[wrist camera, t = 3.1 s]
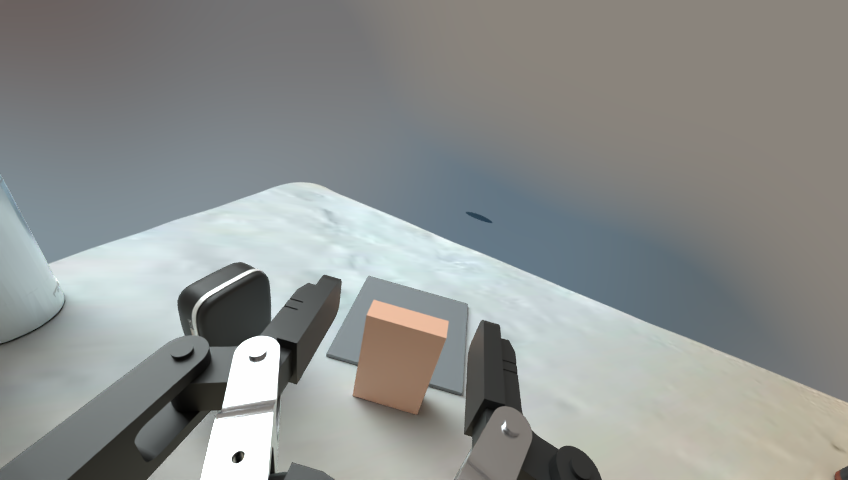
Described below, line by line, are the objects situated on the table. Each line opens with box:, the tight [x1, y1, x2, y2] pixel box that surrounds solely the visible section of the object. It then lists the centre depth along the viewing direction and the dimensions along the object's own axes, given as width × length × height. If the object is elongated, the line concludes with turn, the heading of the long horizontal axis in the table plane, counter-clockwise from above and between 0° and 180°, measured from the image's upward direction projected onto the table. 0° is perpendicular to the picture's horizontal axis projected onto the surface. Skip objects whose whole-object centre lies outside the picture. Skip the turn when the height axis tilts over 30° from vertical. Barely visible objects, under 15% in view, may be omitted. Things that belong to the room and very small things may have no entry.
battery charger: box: [178, 262, 271, 347], centre depth 30 cm, size 7×4×11 cm, turn 155°
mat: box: [326, 276, 468, 395], centre depth 41 cm, size 15×16×1 cm
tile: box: [353, 300, 449, 415], centre depth 30 cm, size 2×7×12 cm, turn 80°
